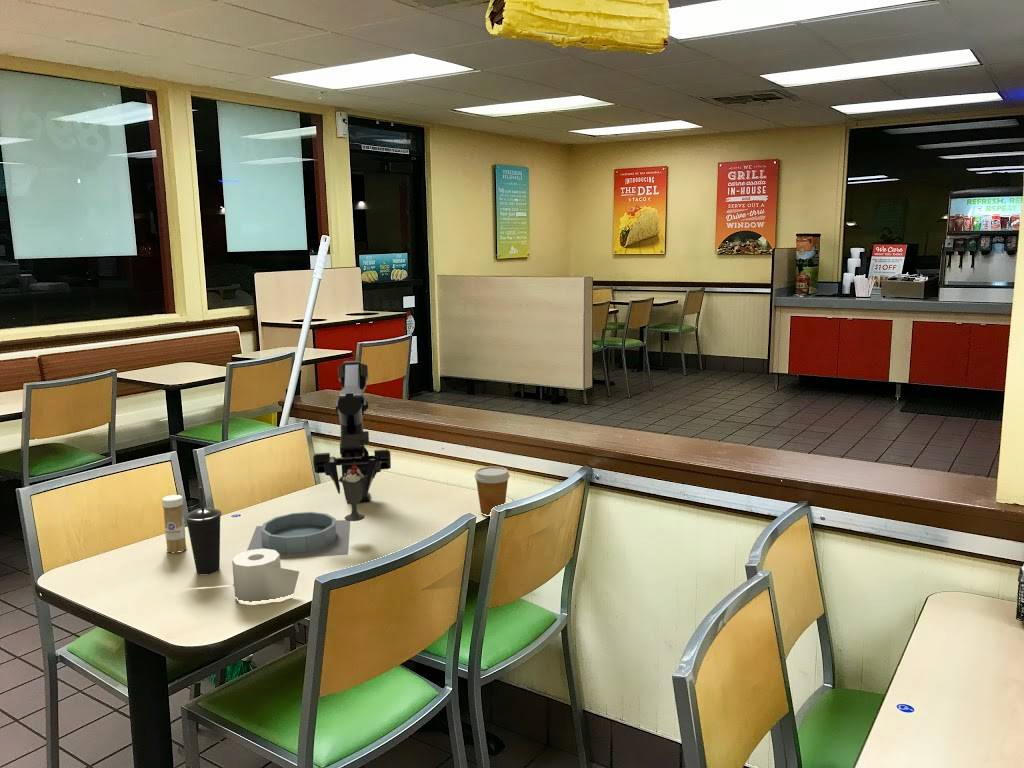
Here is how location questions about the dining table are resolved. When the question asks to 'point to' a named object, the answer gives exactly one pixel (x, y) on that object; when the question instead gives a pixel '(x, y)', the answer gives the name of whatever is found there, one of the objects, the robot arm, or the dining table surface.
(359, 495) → the sundae
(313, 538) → the bowl
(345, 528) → the mat
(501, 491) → the disposable coffee cup
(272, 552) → the toilet tissue
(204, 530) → the drinking cup
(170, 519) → the sprinkles bottle
